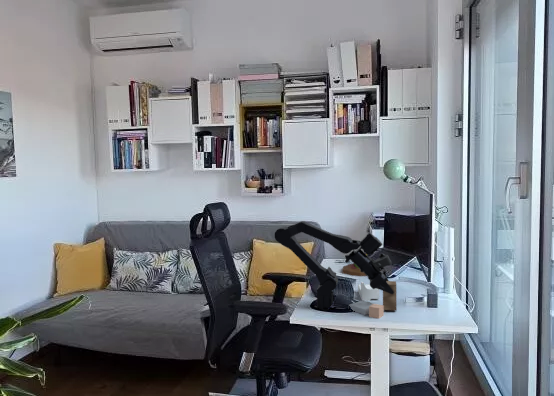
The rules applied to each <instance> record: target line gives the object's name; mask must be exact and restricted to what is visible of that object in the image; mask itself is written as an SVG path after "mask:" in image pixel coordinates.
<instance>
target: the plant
mask: <svg viewBox="0 0 554 396" xmlns="http://www.w3.org/2000/svg"><path fill="white" fill-rule="evenodd" d="M364 253H365V252H364ZM365 254H366V255H367V256H368V254H367V253H365ZM341 272H342V273H341V274H343V275H347V276H353V277H354V276H355V277H367V276H366V275H365V274H364V273H363V272H361V271H360V269H359V268H358V267H357V266H356V265H355V264H354V263H353V262H352V263H349V264H348V263H347V265H344V266H343V267H342V271H341Z"/></svg>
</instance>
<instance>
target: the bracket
mask: <svg viewBox="0 0 554 396" xmlns="http://www.w3.org/2000/svg"><path fill="white" fill-rule="evenodd" d="M357 292H358V294H359V298H360V299H361V300H360V301H362V300H363V301H366V302H370V301H371V300H379V299H380V289H377V288H375V289H373V288H372V287H371V286H370V283H369V284H367V283H366V284H365V282H364V281H360V284H358V287H357Z"/></svg>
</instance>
